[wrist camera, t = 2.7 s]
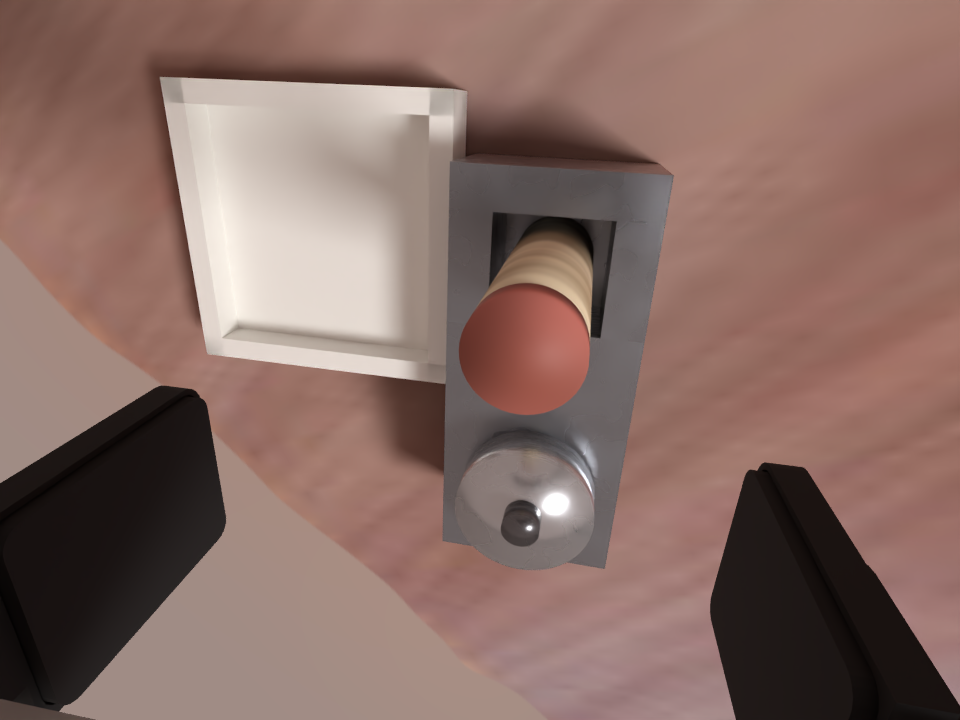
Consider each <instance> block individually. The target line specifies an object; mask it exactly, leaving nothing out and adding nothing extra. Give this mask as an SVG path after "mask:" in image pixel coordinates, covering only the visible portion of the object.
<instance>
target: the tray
mask: <svg viewBox="0 0 960 720" xmlns="http://www.w3.org/2000/svg"><path fill="white" fill-rule="evenodd" d="M160 82H161V88H162V94H163V99H164V105H165V111H166V117H167V123H168V128H169V134H170V140H171V146H172V152H173V158H174V163H175V169H176V175H177V181H178V187H179V193H180V198H181V204H182V210H183V216H184V222H185V228H186V233H187V239H188V245H189V251H190V257H191V262H192V268H193V274H194V280H195V286H196V292H197V297H198V303H199V309H200V315H201V321H202V327H203V332H204V338H205V344H206V350H207V354H212V355H220V356H228V357H236V358H244V359H252V360H259V361H267V362H275V363H283V364H291V365H299V366H307V367H315V368H323V369H331V370H338V371H346V372H354V373H362V374H370V375H378V376H386V377H394V378H402V379H409V380H417V381H425V382H433V383H441V384H446V336H447V284H448V231H449V178H450V161H453V160H456V159H460V158H463V157H466V123H467V91H464V90H458V89H446V88H422V87H397V86H373V85H348V84H324V83H299V82H274V81H250V80H225V79H201V78H176V77H160Z"/></svg>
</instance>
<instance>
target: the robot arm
mask: <svg viewBox="0 0 960 720" xmlns="http://www.w3.org/2000/svg"><path fill="white" fill-rule="evenodd" d="M225 524H226V515H225V510H224V503H223V497H222V492H221V485H220V479H219V474H218V467H217V462H216V456H215V450H214V444H213V438H212V432H211V426H210V420H209V414H208V408H207V405H206V402H205V401H204V400H203V399H201V398H200V396H199V395H198V393H197V392H196V391H194V390H193V389H186V388H179V387H171V386H159V387H156V388H154V389H153V390H151V391H150V392H148V393H146V394H145V395H143V396H141V397H140V398H138V399H136V400H135V401H133V402H132V403H130V404H128V405H127V406H125V407H124V408H122V409H120V410H119V411H117V412H116V413H114V414H112V415H111V416H109V417H107V418H106V419H104V420H102V421H101V422H99V423H97V424H96V425H94V426H93V427H91V428H89V429H88V430H86V431H85V432H83V433H81V434H80V435H78V436H76V437H75V438H73V439H72V440H70V441H68V442H67V443H65V444H64V445H62V446H60V447H59V448H57V449H55V450H54V451H52V452H50V453H49V454H47V455H46V456H44V457H43V458H41V459H39V460H37V461H36V462H34V463H33V464H31V465H29V466H28V467H26V468H25V469H23V470H22V471H20V472H18V473H16V474H15V475H13V476H11V477H10V478H8V479H7V480H5V481H3V482H2V483H0V720H94V719H90V718H85V717H80V716H76V715H71V714H66V713H62V712H59V711H60V710H61V708H62V707H63V706H64V705H68V704H70V703H72V702H74V701H75V700H76V699H78V698H79V697H80V696H81V695H82V693H83V692H84V691H85V690H86V689H87V688H88V687H89V686H90V684H91V683H92V682H93V681H94V680H95V679H96V678H97V677H98V675H99V674H100V673H101V672H102V671H103V670H104V668H105V667H106V666H107V665H108V664H109V663H110V662H111V661H112V660H113V658H114V657H115V656H116V655H117V654H118V653H119V651H120V650H121V649H122V648H123V647H124V646H125V645H126V643H128V641H129V640H130V639H131V638H132V637H133V636H134V635H135V633H136V632H137V631H138V630H139V629H140V628H141V627H142V625H143V624H144V623H145V622H146V621H147V620H148V619H149V618H150V616H151V615H152V614H153V613H154V612H155V611H156V610H157V609H158V607H159V606H160V605H161V604H162V603H163V602H164V601H165V599H166V598H167V597H168V596H169V595H170V594H171V592H173V590H174V589H175V588H176V587H177V586H178V585H179V584H180V583H181V581H182V580H183V579H184V578H185V577H186V576H187V575H188V573H189V572H190V571H191V570H192V569H193V568H194V567H195V565H196V564H197V563H198V562H199V561H200V560H201V559H202V558H203V556H204V555H205V554H206V553H207V552H208V551H209V550H210V549H211V547H212V546H213V545H214V544H215V543H216V542H217V540H218V539H219V538H220V537H221V535H222V533H223V531H224V528H225ZM710 614H711V621H712V625H713V629H714V633H715V637H716V641H717V645H718V649H719V653H720V658H721V662H722V666H723V670H724V674H725V678H726V682H727V686H728V690H729V694H730V698H731V702H732V706H733V710H734V714H735V718H736V720H960V705H959V704H958V702H957V701H956V699H955V698H954V696H953V694H952V693H951V691H950V690H949V688H948V687H947V685H946V683H945V682H944V680H943V679H942V677H941V676H940V674H939V672H938V671H937V669H936V668H935V666H934V665H933V663H932V662H931V660H930V658H929V657H928V655H927V654H926V652H925V651H924V649H923V647H922V646H921V644H920V643H919V641H918V640H917V638H916V636H915V635H914V633H913V632H912V630H911V629H910V627H909V626H908V624H907V622H906V621H905V619H904V618H903V616H902V615H901V613H900V611H899V610H898V608H897V607H896V605H895V604H894V602H893V600H892V599H891V597H890V596H889V594H888V593H887V591H886V590H885V588H884V586H883V585H882V583H881V582H880V580H879V579H878V577H877V575H876V574H875V573H874V572H873V570H872V569H871V568H870V567H869V566H868V565H866V563H865V561H864V560H863V558H862V557H861V555H860V554H859V552H858V550H857V549H856V547H855V546H854V544H853V542H852V541H851V539H850V538H849V536H848V535H847V533H846V531H845V530H844V528H843V527H842V525H841V523H840V522H839V520H838V519H837V517H836V516H835V514H834V512H833V511H832V509H831V508H830V506H829V504H828V503H827V501H826V500H825V498H824V497H823V495H822V493H821V492H820V490H819V489H818V487H817V485H816V484H815V482H814V481H813V479H812V478H811V476H810V474H809V473H808V471H807V470H806V469H805V468H802V467H797V466H789V465H781V464H773V463H765V462H764V463H763V464H761V466H760V467H759V469H758V471H756V470H749V471H748V472H747V473H746V475H745V478H744V481H743V485H742V488H741V492H740V496H739V499H738V503H737V506H736V510H735V514H734V517H733V521H732V524H731V528H730V531H729V535H728V539H727V542H726V546H725V549H724V553H723V557H722V560H721V564H720V567H719V571H718V574H717V578H716V582H715V585H714V589H713V592H712V596H711V603H710Z"/></svg>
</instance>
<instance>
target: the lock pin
mask: <svg viewBox="0 0 960 720" xmlns="http://www.w3.org/2000/svg"><path fill="white" fill-rule="evenodd" d="M593 256H594V250H593V243H592V240H591V237H590V236H589V234H588V232H587V231H586V229H585V228H584V227H583V226H582V225H581V224H580V223H578V222H577V221H575V220H573V219H571V218H567V217H554V216H547V217H544V218H541V219H539V220H537V221H535V222H534V223H533V224H531V225H530V226H529V227H528V228H527V229H526V231H525V232H524V234H523V235H522V237H521V238H520V240H519V241H518V243H517V245H516V246H515V248H514V249H513V251H512V252H511V254H510V256H509V257H508V259H507V260H506V262H505V263H504V265H503V266H502V268H501V270H500V271H499V273H498V274H497V276H496V277H495V279H494V281H493V282H492V284H491V285H490V287H489V288H488V290H487V292H486V293H485V295H484V296H483V298H482V299H481V301H480V303H479V304H478V306H477V307H476V309H475V310H474V312H473V314H472V315H471V317H470V318H469V320H468V322H467V323H466V325H465V327H464V329H463V331H462V334H461V338H460V342H459V360H460V365H461V369H462V372H463V374H464V376H465V378H466V380H467V382H468V383H469V385H470V386H471V388H472V389H473V390H474V391H475V393H476V394H478V395H479V396H480V397H481V398H482V399H483V400H485V401H486V402H487V403H489V404H490V405H492V406H494V407H496V408H498V409H500V410H503V411H506V412H509V413H514V414H521V415H535V414H541V413H545V412H548V411H551V410H554V409H556V408H558V407H560V406H562V405H563V404H565V403H566V402H567V401H569V400H570V399H571V398H572V397H573V396H574V395H575V394H576V393H577V391H578V390H579V389H580V387H581V386H582V384H583V382H584V380H585V377H586V375H587V371H588V367H589V354H590V329H591V305H592V281H593Z"/></svg>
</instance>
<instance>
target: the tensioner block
mask: <svg viewBox="0 0 960 720" xmlns="http://www.w3.org/2000/svg"><path fill="white" fill-rule="evenodd" d="M673 177H674V175H673V174H671V173H670V172H669V171H668V170H666V169H665V168H664V167H663V166H662V165H660V164H652V163H635V162H618V161H601V160H584V159H567V158H550V157H533V156H516V155H499V154H482V153H475V154H472V155H469V156H466V157H463V158H460V159H456V160H453V161H450V178H449V231H448V284H447V336H446V389H445V441H444V494H443V541H446V542H452V543H458V544H463V545H469V546H473V547H474V548H476V549H477V550H478V551H479V552H480V553H482V554H483V555H485V556H486V557H488V558H489V559H491V560H493V561H495V562H497V563H500V564H502V565H505V566H508V567H512V568H516V569H523V570H543V569H549V568H553V567H556V566H560V565H562V564H564V563H566V562H568V563H574V564H579V565H585V566H591V567H597V568H603V569H605V564H606V559H607V553H608V547H609V541H610V536H611V530H612V524H613V519H614V513H615V507H616V502H617V496H618V490H619V484H620V479H621V473H622V467H623V462H624V456H625V450H626V445H627V439H628V433H629V428H630V422H631V416H632V410H633V405H634V399H635V393H636V388H637V382H638V376H639V371H640V365H641V359H642V353H643V348H644V342H645V336H646V331H647V325H648V319H649V314H650V308H651V302H652V297H653V291H654V285H655V279H656V274H657V268H658V262H659V257H660V251H661V245H662V240H663V234H664V228H665V222H666V217H667V211H668V205H669V200H670V194H671V188H672V183H673ZM547 216H554V217H567V218H571V219H573V220H575V221H577V222H578V223H580V224H581V225H582V226H583V227H584V228H585V229H586V231H587V232H588V234H589V236H590V237H591V240H592V243H593V250H594V256H593V281H592V305H591V329H590V354H589V367H588V371H587V375H586V377H585V380H584V382H583V384H582V386H581V387H580V389H579V390H578V391H577V393H576V394H575V395H574V396H573V397H572V398H571V399H570V400H569V401H567V402H566V403H565V404H563V405H562V406H560V407H558V408H556V409H554V410H551V411H548V412H545V413H541V414H535V415H521V414H514V413H509V412H506V411H503V410H500V409H498V408H496V407H494V406H492V405H490V404H489V403H487V402H486V401H485V400H483V399H482V398H481V397H480V396H479V395H478V394H476V393H475V391H474V390H473V389H472V388H471V386H470V385H469V383H468V382H467V380H466V378H465V376H464V374H463V372H462V369H461V365H460V360H459V342H460V338H461V334H462V331H463V329H464V327H465V325H466V323H467V322H468V320H469V318H470V317H471V315H472V314H473V312H474V310H475V309H476V307H477V306H478V304H479V303H480V301H481V299H482V298H483V296H484V295H485V293H486V292H487V290H488V288H489V287H490V285H491V284H492V282H493V281H494V279H495V277H496V276H497V274H498V273H499V271H500V270H501V268H502V266H503V265H504V263H505V262H506V260H507V259H508V257H509V256H510V254H511V252H512V251H513V249H514V248H515V246H516V245H517V243H518V241H519V240H520V238H521V237H522V235H523V234H524V232H525V231H526V229H527V228H528V227H529V226H530V225H531V224H533V223H534V222H535V221H537V220H539V219H541V218H544V217H547Z"/></svg>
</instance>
